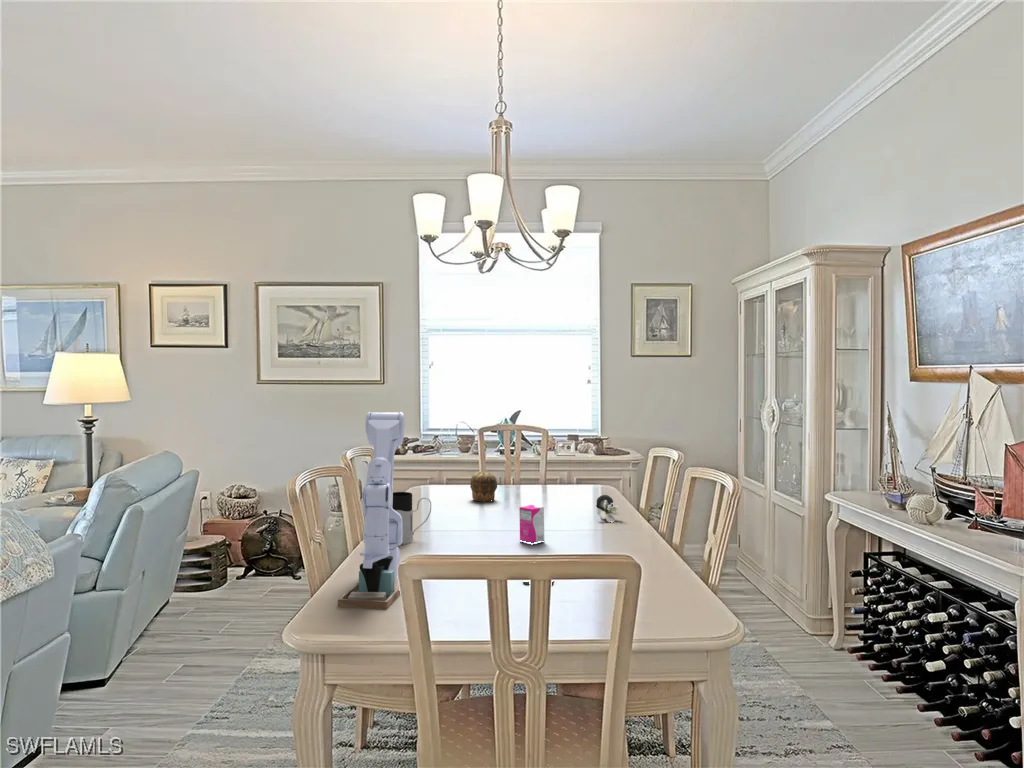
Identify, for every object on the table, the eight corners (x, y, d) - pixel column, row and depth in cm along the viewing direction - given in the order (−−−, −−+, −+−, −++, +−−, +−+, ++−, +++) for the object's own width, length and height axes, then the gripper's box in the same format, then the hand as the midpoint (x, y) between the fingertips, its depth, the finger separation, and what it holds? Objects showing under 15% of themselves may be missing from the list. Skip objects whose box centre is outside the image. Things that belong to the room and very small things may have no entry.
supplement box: (531, 539, 247) (531, 504, 247) (544, 542, 243) (545, 506, 242) (518, 542, 243) (519, 506, 243) (532, 545, 239) (532, 509, 238)
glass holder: (387, 537, 248) (387, 491, 247) (431, 537, 249) (431, 491, 248) (385, 544, 239) (385, 496, 239) (431, 543, 240) (431, 496, 240)
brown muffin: (467, 502, 309) (467, 473, 309) (473, 497, 320) (473, 469, 320) (494, 503, 307) (494, 474, 307) (499, 498, 318) (499, 470, 318)
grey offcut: (351, 600, 179) (351, 591, 179) (386, 600, 179) (385, 592, 179) (348, 605, 175) (348, 596, 175) (383, 605, 175) (383, 597, 175)
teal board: (362, 597, 186) (362, 568, 186) (394, 598, 185) (394, 570, 185) (358, 600, 184) (358, 571, 183) (391, 602, 182) (391, 573, 182)
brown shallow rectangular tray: (357, 594, 188) (357, 582, 188) (403, 596, 186) (403, 584, 186) (337, 612, 175) (337, 599, 174) (387, 615, 173) (387, 601, 173)
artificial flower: (616, 514, 295) (623, 491, 293) (612, 534, 273) (619, 508, 271) (594, 507, 296) (601, 483, 294) (588, 526, 274) (595, 501, 272)
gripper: (370, 527, 191) (369, 580, 192) (350, 540, 177) (350, 598, 177) (397, 528, 191) (397, 582, 191) (379, 541, 176) (379, 600, 177)
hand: (376, 590), depth 184 cm, fingers open, 5 cm apart
